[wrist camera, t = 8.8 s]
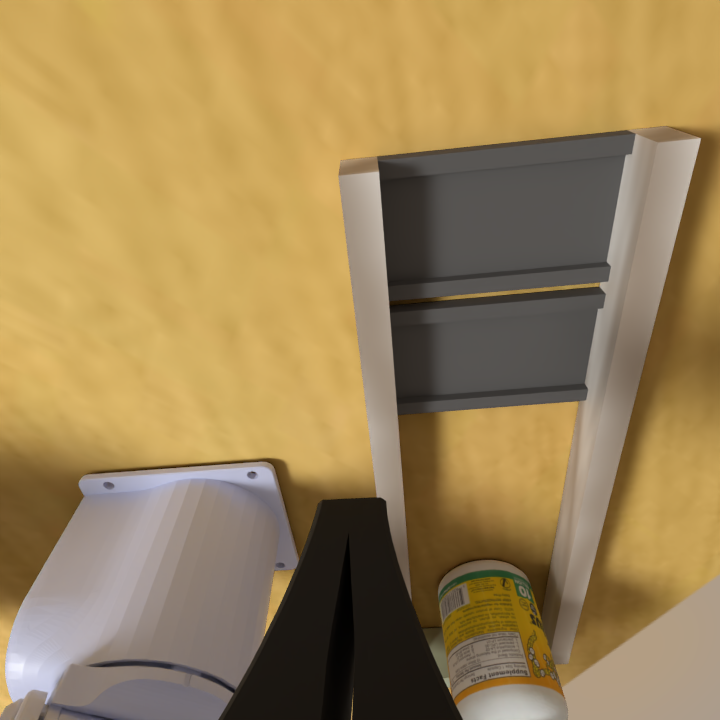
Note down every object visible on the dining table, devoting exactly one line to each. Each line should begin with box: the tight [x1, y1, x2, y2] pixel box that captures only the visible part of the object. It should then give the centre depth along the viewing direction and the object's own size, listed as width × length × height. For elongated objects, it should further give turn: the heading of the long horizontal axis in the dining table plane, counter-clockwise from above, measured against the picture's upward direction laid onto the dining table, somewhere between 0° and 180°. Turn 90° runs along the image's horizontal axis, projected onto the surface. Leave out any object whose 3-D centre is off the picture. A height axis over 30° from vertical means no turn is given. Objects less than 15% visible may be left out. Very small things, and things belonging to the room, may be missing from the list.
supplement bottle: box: [438, 560, 568, 720], centre depth 26 cm, size 5×5×10 cm
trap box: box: [339, 126, 701, 688], centre depth 23 cm, size 10×30×3 cm, turn 6°
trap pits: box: [377, 130, 636, 415], centre depth 19 cm, size 8×10×1 cm
